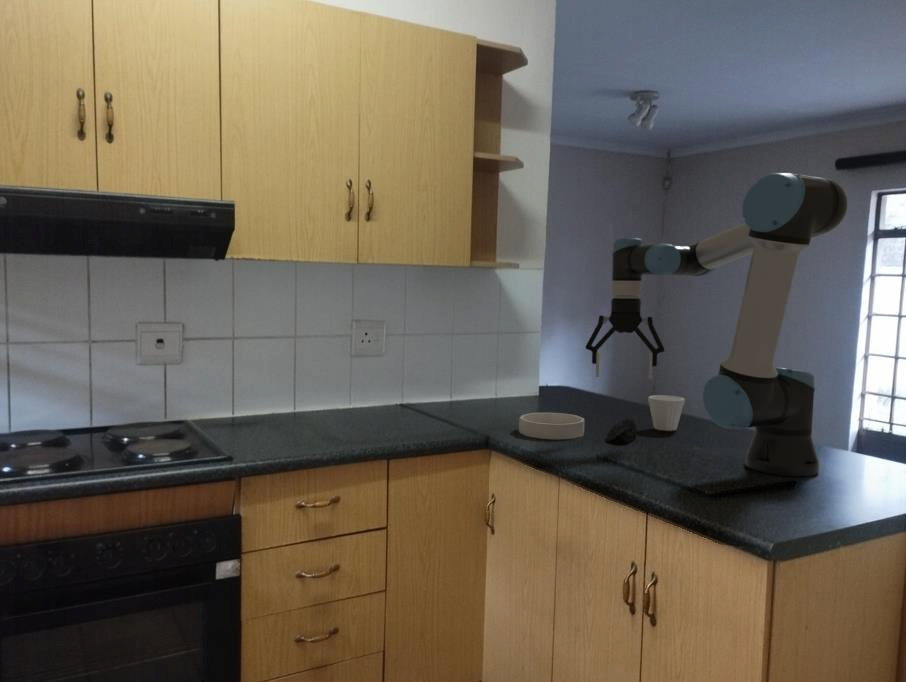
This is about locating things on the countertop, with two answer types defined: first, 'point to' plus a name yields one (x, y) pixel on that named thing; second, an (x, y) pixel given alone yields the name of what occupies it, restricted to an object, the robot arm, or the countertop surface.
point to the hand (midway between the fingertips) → (623, 377)
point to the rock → (622, 432)
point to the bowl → (551, 425)
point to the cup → (666, 411)
